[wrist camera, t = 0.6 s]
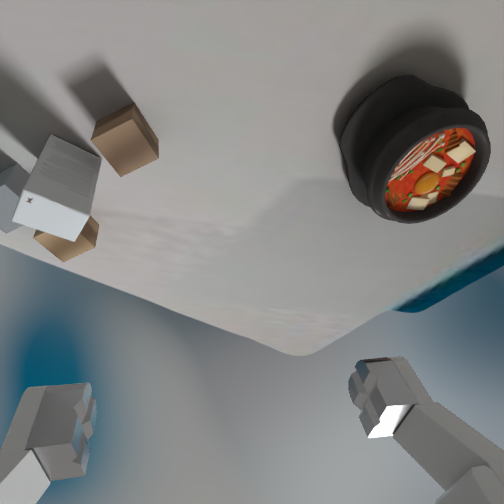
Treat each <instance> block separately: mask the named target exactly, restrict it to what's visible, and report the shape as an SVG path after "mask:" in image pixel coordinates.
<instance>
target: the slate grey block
mask: <svg viewBox="0 0 504 504" xmlns="http://www.w3.org/2000/svg"><path fill="white" fill-rule="evenodd" d="M29 176H30V174H29V173H28V172H27V171H26V170H24V169H23V168H22V167H21V166H20V165H19V164H18V163H16V164H14V165H12V166H10V167H8V168H6V169H4V170H3V171H1V172H0V229H1V230H2V231H3V232H5V233H8V232H10V231H12V230H14V229H16V228H18V227H20V226H22V224H19V223H16V222H12V221H11V219H12V216H13V213H14V211H15V208H16V205H17V203H18V200H19V198H20V195H21V192H22V189H23V188H24V186H25V184H26V182H27V181H28V178H29Z"/></svg>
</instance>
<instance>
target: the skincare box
mask: <svg viewBox="0 0 504 504" xmlns="http://www.w3.org/2000/svg"><path fill="white" fill-rule="evenodd" d="M101 161H102V159H101V158H99V157H97V156H95V155H93V154H91V153H89V152H87V151H85V150H83V149H81V148H79V147H77V146H74V145H72V144H70V143H68V142H66V141H64V140H62V139H60V138H58V137H56V136H54V135H52V134H51V135H50V136H49V138H48V140H47V142H46V144H45V146H44V148H43V150H42V152H41V154H40V156H39V158H38V160H37V162H36V164H35V166H34V168H33V170H32V172H31V174H30V176H29V178H28V181H27V182H26V184H25V186H24V188H23V189H22V192H21V195H20V198H19V200H18V203H17V205H16V208H15V211H14V213H13V216H12V219H11V221H12V222H16V223H19V224H22V225H25V226H28V227H31V228H34V229H37V230H40V231H43V232H46V233H49V234H52V235H55V236H58V237H61V238H64V239H67V240H70V241H73V242H75V240H76V239H77V237H78V235H79V234H80V232H81V230H82V229H83V227H84V225H85V223H86V222H87V220H88V218H89V217H90V213H91V207H92V202H93V197H94V193H95V188H96V184H97V179H98V175H99V170H100V166H101Z"/></svg>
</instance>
